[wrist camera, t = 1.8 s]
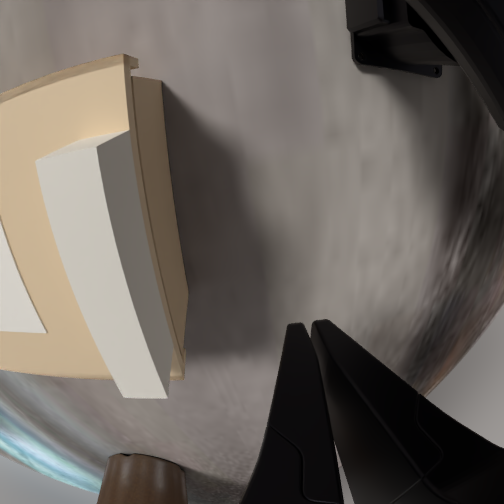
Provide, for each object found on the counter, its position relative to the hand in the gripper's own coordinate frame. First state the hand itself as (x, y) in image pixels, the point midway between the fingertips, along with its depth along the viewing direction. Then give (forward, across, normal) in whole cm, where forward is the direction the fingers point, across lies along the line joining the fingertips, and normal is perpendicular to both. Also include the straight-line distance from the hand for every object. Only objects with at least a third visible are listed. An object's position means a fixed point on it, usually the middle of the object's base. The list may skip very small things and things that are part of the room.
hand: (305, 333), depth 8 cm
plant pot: (+12, +18, +40) cm, 46 cm away
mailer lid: (+7, +13, 0) cm, 15 cm away
